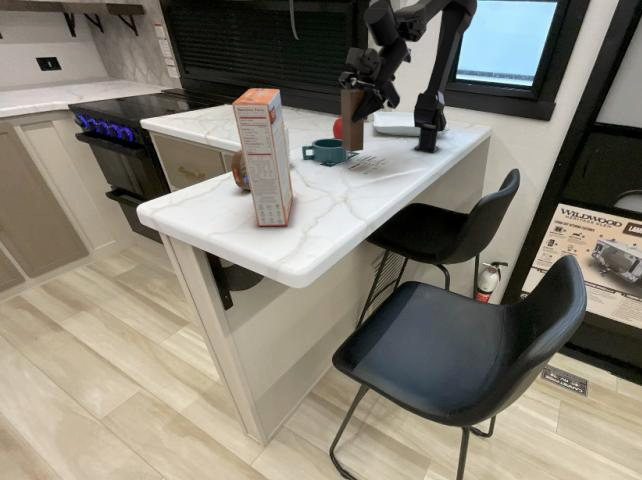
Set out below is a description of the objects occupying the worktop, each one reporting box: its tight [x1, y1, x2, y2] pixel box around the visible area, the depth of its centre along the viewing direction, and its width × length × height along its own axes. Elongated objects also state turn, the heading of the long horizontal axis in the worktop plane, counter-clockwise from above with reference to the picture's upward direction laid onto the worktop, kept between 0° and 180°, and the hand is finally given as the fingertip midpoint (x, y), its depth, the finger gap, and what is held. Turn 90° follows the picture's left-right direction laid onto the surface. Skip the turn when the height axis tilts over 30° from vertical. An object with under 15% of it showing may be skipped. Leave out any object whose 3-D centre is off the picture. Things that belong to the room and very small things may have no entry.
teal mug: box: [301, 138, 349, 164], centre depth 94 cm, size 13×10×4 cm
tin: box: [230, 148, 251, 191], centre depth 77 cm, size 15×3×8 cm, turn 168°
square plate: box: [372, 111, 451, 137], centre depth 127 cm, size 27×27×4 cm
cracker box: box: [231, 87, 294, 227], centre depth 62 cm, size 14×6×21 cm, turn 5°
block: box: [340, 88, 365, 153], centre depth 81 cm, size 4×4×13 cm
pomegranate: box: [332, 114, 342, 140], centre depth 109 cm, size 10×10×9 cm
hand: (347, 119), depth 80 cm, fingers closed on block, 4 cm apart
